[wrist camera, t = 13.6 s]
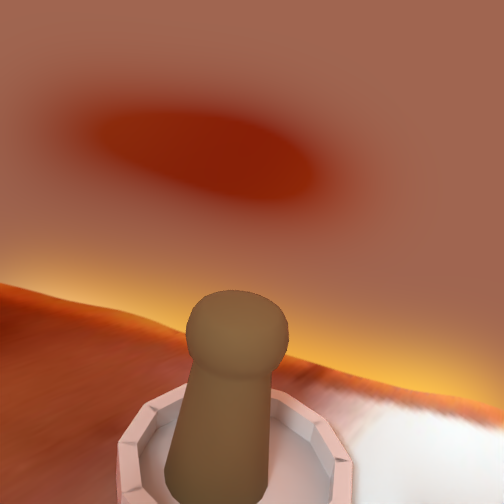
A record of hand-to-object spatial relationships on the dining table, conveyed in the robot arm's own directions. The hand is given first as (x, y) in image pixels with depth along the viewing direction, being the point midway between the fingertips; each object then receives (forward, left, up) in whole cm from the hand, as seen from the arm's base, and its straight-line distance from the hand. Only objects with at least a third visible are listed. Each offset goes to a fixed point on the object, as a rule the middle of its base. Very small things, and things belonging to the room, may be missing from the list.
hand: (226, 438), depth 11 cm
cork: (-8, +10, -14) cm, 19 cm away
